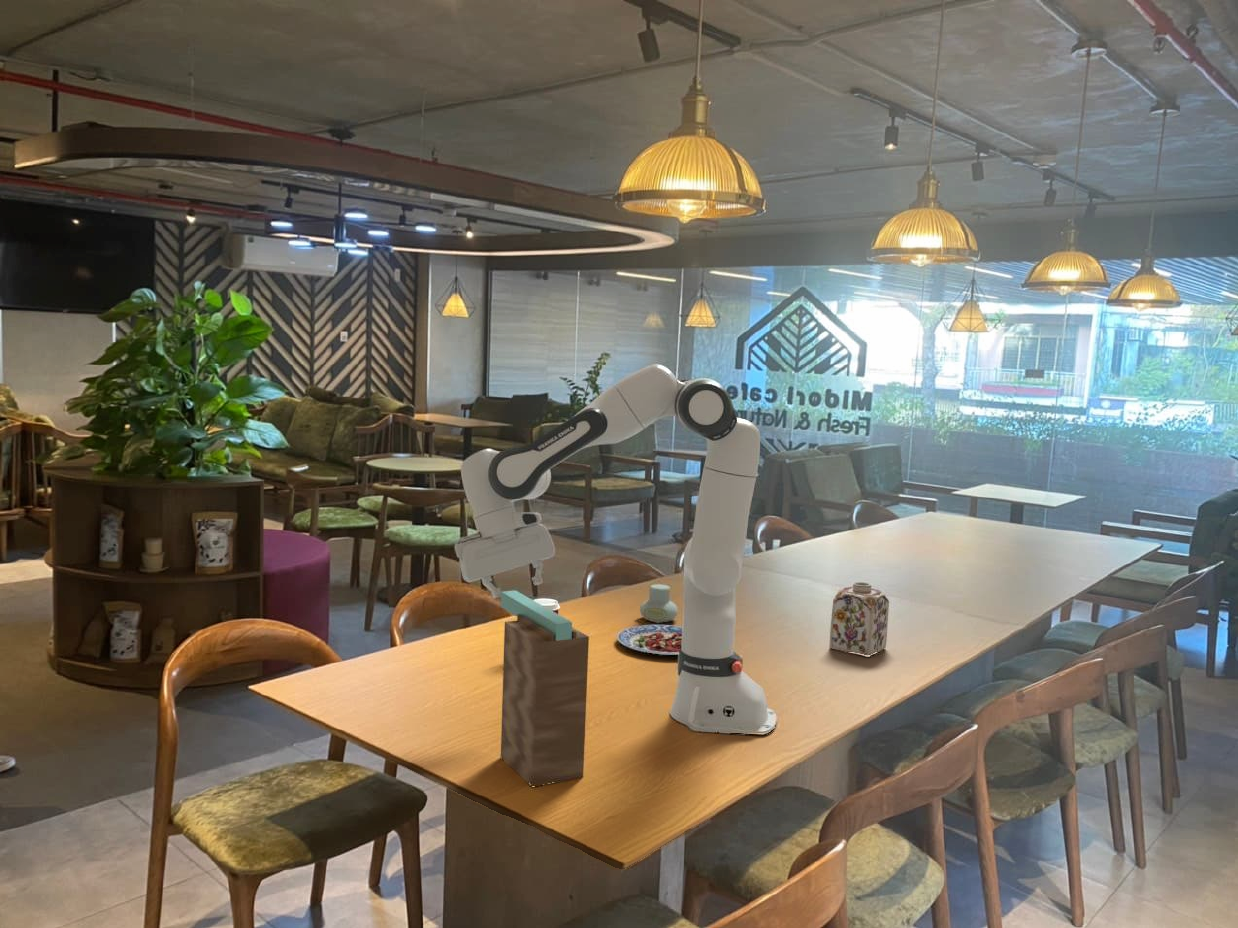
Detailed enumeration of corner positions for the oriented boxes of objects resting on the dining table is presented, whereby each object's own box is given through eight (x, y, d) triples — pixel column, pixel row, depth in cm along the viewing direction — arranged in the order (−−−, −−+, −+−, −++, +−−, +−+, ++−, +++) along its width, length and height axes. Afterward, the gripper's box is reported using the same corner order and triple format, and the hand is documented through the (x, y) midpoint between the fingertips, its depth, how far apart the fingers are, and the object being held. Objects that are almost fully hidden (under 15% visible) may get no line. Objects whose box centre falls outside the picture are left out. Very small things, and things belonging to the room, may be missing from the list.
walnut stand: (500, 757, 180) (504, 615, 177) (548, 748, 185) (553, 610, 182) (532, 787, 168) (537, 636, 165) (583, 777, 173) (589, 630, 170)
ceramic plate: (714, 636, 266) (715, 625, 266) (714, 665, 240) (715, 654, 240) (621, 629, 268) (622, 619, 268) (611, 658, 243) (612, 646, 242)
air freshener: (636, 621, 276) (637, 587, 275) (644, 614, 284) (645, 581, 283) (673, 626, 273) (675, 592, 272) (680, 619, 281) (681, 585, 279)
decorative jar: (869, 659, 250) (874, 591, 248) (827, 649, 257) (832, 583, 255) (887, 649, 260) (892, 583, 258) (846, 640, 267) (851, 576, 265)
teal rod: (500, 606, 188) (501, 591, 187) (514, 605, 189) (515, 590, 189) (556, 640, 167) (556, 624, 167) (571, 638, 169) (572, 622, 168)
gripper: (456, 537, 193) (476, 603, 191) (546, 511, 203) (566, 574, 201) (447, 542, 198) (467, 607, 196) (535, 517, 208) (555, 579, 206)
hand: (518, 590), depth 199 cm, fingers open, 8 cm apart
